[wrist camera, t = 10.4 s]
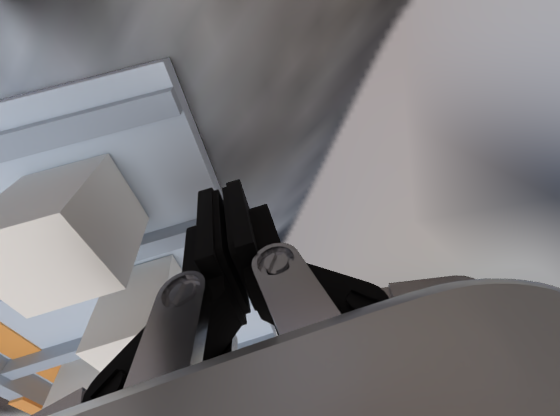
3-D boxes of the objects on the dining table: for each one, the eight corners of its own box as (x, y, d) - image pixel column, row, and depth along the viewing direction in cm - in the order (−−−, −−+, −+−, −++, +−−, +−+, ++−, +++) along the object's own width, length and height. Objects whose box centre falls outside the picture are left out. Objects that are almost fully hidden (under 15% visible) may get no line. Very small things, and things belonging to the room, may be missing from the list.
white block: (115, 346, 20) (91, 425, 16) (141, 369, 23) (125, 443, 19) (62, 362, 20) (24, 447, 16) (94, 384, 22) (68, 462, 18)
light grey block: (108, 153, 13) (59, 212, 9) (149, 218, 15) (125, 289, 11) (22, 176, 12) (-70, 248, 8) (77, 238, 15) (26, 318, 11)
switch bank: (169, 57, 13) (156, 66, 10) (274, 324, 27) (281, 361, 24) (-256, 164, 12) (-418, 211, 9) (84, 384, 26) (68, 431, 23)
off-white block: (172, 254, 17) (159, 327, 13) (196, 293, 19) (192, 365, 15) (108, 273, 16) (75, 353, 12) (141, 310, 19) (121, 387, 15)
